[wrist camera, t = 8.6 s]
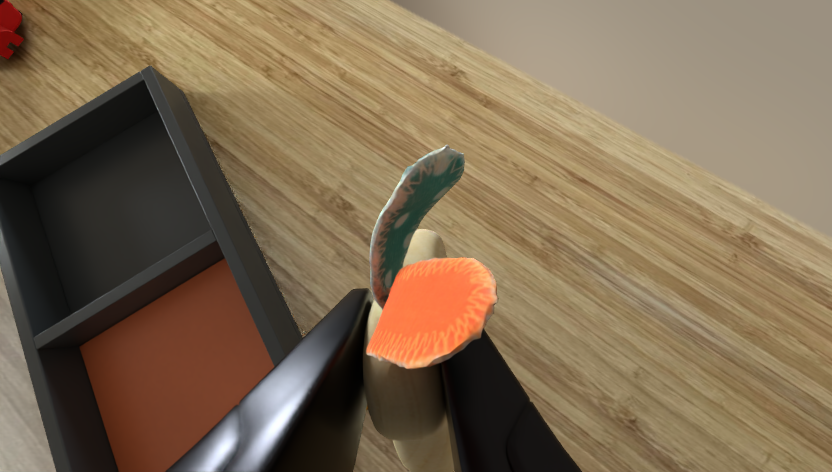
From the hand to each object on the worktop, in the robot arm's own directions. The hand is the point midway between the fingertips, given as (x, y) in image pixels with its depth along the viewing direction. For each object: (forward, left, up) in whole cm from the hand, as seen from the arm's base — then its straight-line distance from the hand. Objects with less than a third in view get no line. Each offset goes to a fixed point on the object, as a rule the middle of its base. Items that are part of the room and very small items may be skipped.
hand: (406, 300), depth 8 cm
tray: (+10, +15, -13) cm, 22 cm away
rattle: (0, +2, -7) cm, 8 cm away
